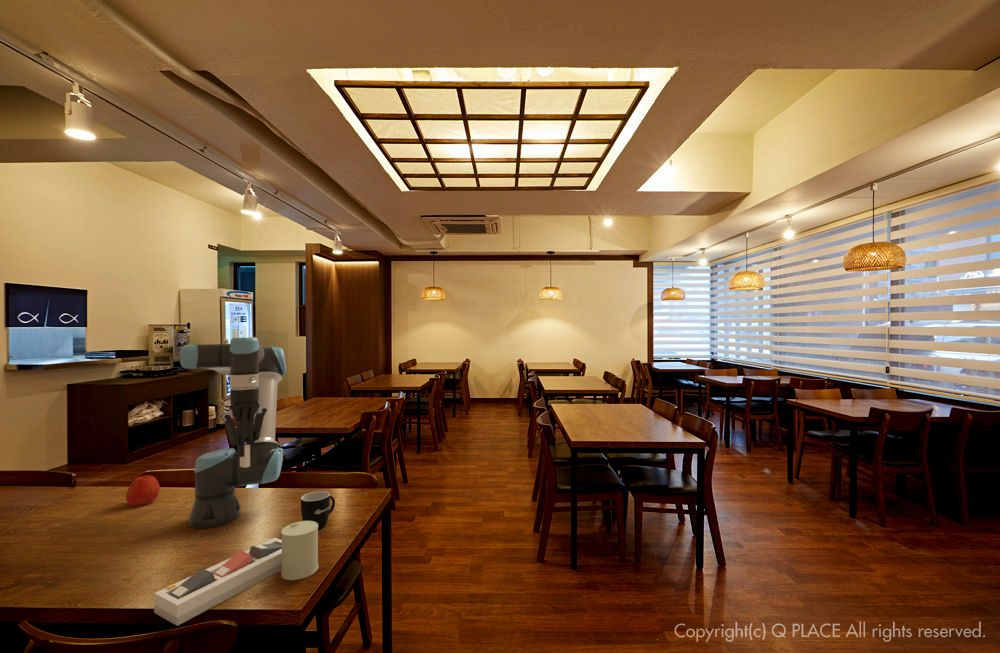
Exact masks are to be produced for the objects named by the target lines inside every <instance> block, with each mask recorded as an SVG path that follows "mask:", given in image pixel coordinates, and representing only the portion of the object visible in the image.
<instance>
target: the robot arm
mask: <svg viewBox="0 0 1000 653" xmlns="http://www.w3.org/2000/svg"><path fill="white" fill-rule="evenodd" d="M229 342H230V343H216V344H215V343H213V344H212V343H211V344H210V343H208V344H205V343H204V344H202V343H201V344H197V343H194V344H193V343H192V344H184V345H183V346H182V347H181V349H180V352H179V363H180V365H181V367H182V368H183V369H185V370H186V369H187V370H188V369H191V370H192V369H193V370H197V369H205V370H212V371H215V372H216V373H217V374H221V375H226V376H229V388H231V390H230V391H229V398H230V399H229V401H230V406H229V407H228V411H226V412H225V413H222V414H221V415H220V418H221V419H222V421H223V422H224V425H225V429H226V432H227V437H228V441H229V443H230V445H233V446H236V447H237V448H236V449H235V448H232V447H231V448H229V447H228V448H221V449H217V450H213V451H210V452H206V453H204V454H202V455H200V456H198V457H197V459H196V460H195V467H194V471H193V472H194V493H195V495H194V496H195V499H194V502H193V505H192V508H191V510H190V514H189V516H188V526H189V527H191V528H194V529H206V528H213V527H218V526H222V525H224V524H228V523H230V522H232V521H234V520H236V519H238V518H239V517H240V516H241V514H242V507H241V505H240V501H239V500H238V497H237V495H236V487H242V486H250V485H251V486H252V485H259V484H260V485H261V484H263V485H264V484H267V483H271V482H275V481H276V480H278V479H279V477H280V476H281V471H282V466H283V460H284V458H283V457H284V449H283V448H281V447H280V443H279V442H278V441H276V426H277V425H276V424H277V405H278V404H277V403H278V402H277V401H278V388H279V387H278V386H279V383H280V382H281V381H282V380H283V376H285V375H287V366H286V365H287V364H286V358H285V352H284V349H283V348H282V347H279V346H278V347H277V346H270V347H269V346H268V347H262V346H260V342H259V339H258V338H257V337H254V336H253V337H233V338H231V339H230V341H229ZM233 418H234V419H233Z"/></svg>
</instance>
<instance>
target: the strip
mask: <svg viewBox="0 0 1000 653" xmlns="http://www.w3.org/2000/svg"><path fill="white" fill-rule="evenodd" d="M272 543H277V544H280V545H282V538H277V537H273V538H271V539H268V540H266V541H264V542H262V543H260V544H259V545H264V544H272ZM249 551H250V548H249V549H247V550H244V552H246V553H248V554H249ZM251 556H252V558H253V561H251V562H250V563H249V564H248V565H247V566H245V567H243V568H241V569H239V570H237V571H235V572H233V573H231V574H229V575H227V576H225V577H223V578H221V577H219V576H216V575H214V574H213V575H214V577H215V579H214V580H213V581H212V582H211V583H209V584H208V585H207V586H205V587H203V588H201V589H198V590H196V591H194V592H192V593H190V594H188V595H186V596H184V597H182V598H180V599H176V598H174V597H172V596H170V595H169V593H170V592H171V591H173V590H174V589H175V588H177V587H178V586H179V585H181V584H182V583H183V582H185V581H186V580H187V579H189V578H190V577H191V576H193V575H194V574H193V575H190V576H188V577H186V578H184V579H182V580H179V581H178V582H176V583H171V584H169V585H167V587H164V588H162V589H161V590H158V591H156V592H154V594H153V597H154V598H153V600H154V601H153V606H154V608H153V612H154V614H156V615H158V616H159V617H161V618H163V619H164V620H165V621H168V622H170V623H171V624H173V625H175V626H177V627H178V626H181V624H183V623H185V622H188V621H189V620H191V619H192V618H195V617H196V616H199V615H201V614H202V613H204V612H206V611H208V610H209V609H213V607H215V606H217V605H219V604H220V603H222V602H225V601H226V600H228V599H230V598H232V597H234V596H235V595H237V594H239V593H241V592H242V591H243V592H244V591H245V590H247V589H248V588H250V587H252V586H254V585H256V584H258V583H259V582H262V581H264V580H265V579H267V578H269V577H271V576H273V575H274V574H277V573H278V572H280V571H282V549H280V550H278V551H276V552H274V553H272V554H270V555H268V556H264V557H258V556H255V555H252V554H251ZM231 558H232V557H229V558H228V559H225V560H223V561H221V562H219V563H217V564H215V565H211V566H210V567H208V568H206V569H205V570H207V571H210V572H212V573H213V572H214V571H216V570H217V569H218V568H219V567H221V566H222V565H223V564H224V563H226V562H227V561H228V560H229V559H231Z"/></svg>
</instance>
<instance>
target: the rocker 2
mask: <svg viewBox="0 0 1000 653" xmlns="http://www.w3.org/2000/svg"><path fill="white" fill-rule="evenodd" d="M249 549H250V551H249V554H252V555H255V556H258V557H264V556H268V555H270V554H272V553H274V552H276V551H278V550H280V549H282V545H280V544H277V543H272V544H264V545H260V544H257V545H251V546H250V548H249Z"/></svg>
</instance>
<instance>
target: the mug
mask: <svg viewBox="0 0 1000 653" xmlns="http://www.w3.org/2000/svg"><path fill="white" fill-rule="evenodd" d="M330 494H331V493H330V492H329V491H325V490H318V491H312V492H308V493H305V494H303V495H302V496H301V497H300V510H301V518H302V521H314V522H316V523H318V530H320V529H321V530H322V529H323V528H324V527H325V526H326V525H327V524H328V521H329V516H330V514H332V512H333V510H334V509H335V506H336V501H335V498H334V497H333V496H331V495H330ZM330 504H331V505H330ZM330 506H331V507H330Z"/></svg>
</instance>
